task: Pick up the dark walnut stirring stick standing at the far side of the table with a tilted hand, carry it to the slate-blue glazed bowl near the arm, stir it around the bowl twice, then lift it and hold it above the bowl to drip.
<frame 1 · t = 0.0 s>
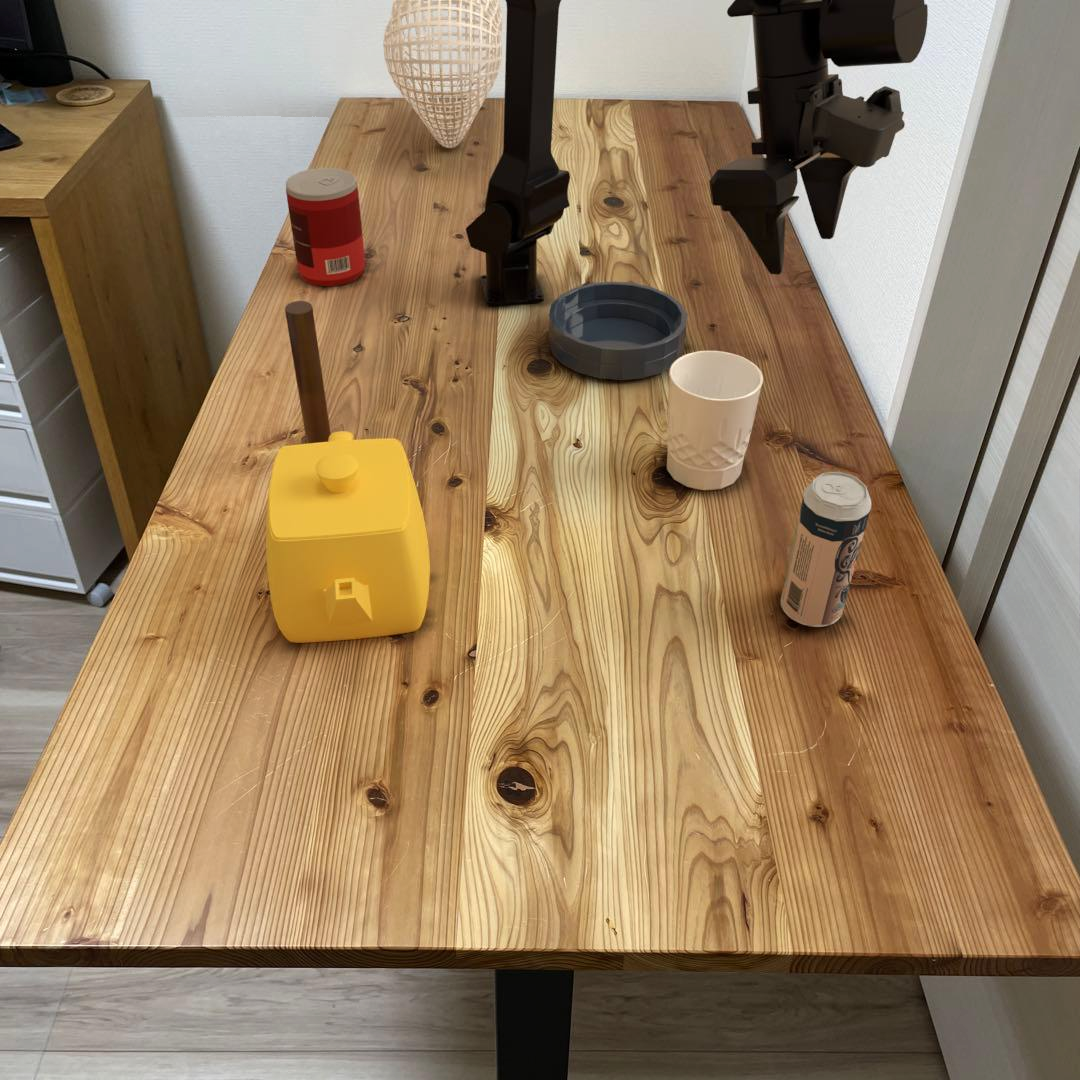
hand: (802, 255, 95), 15 cm above the table, tool pointing down, fingers open, 9 cm apart
stirring stick: (322, 465, 97), on the table
teapot: (353, 592, 85), on the table
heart: (450, 148, 156), on the table
bowl: (615, 347, 113), on the table
canned food: (332, 273, 126), on the table
beer can: (809, 611, 83), on the table
white cup: (702, 470, 97), on the table
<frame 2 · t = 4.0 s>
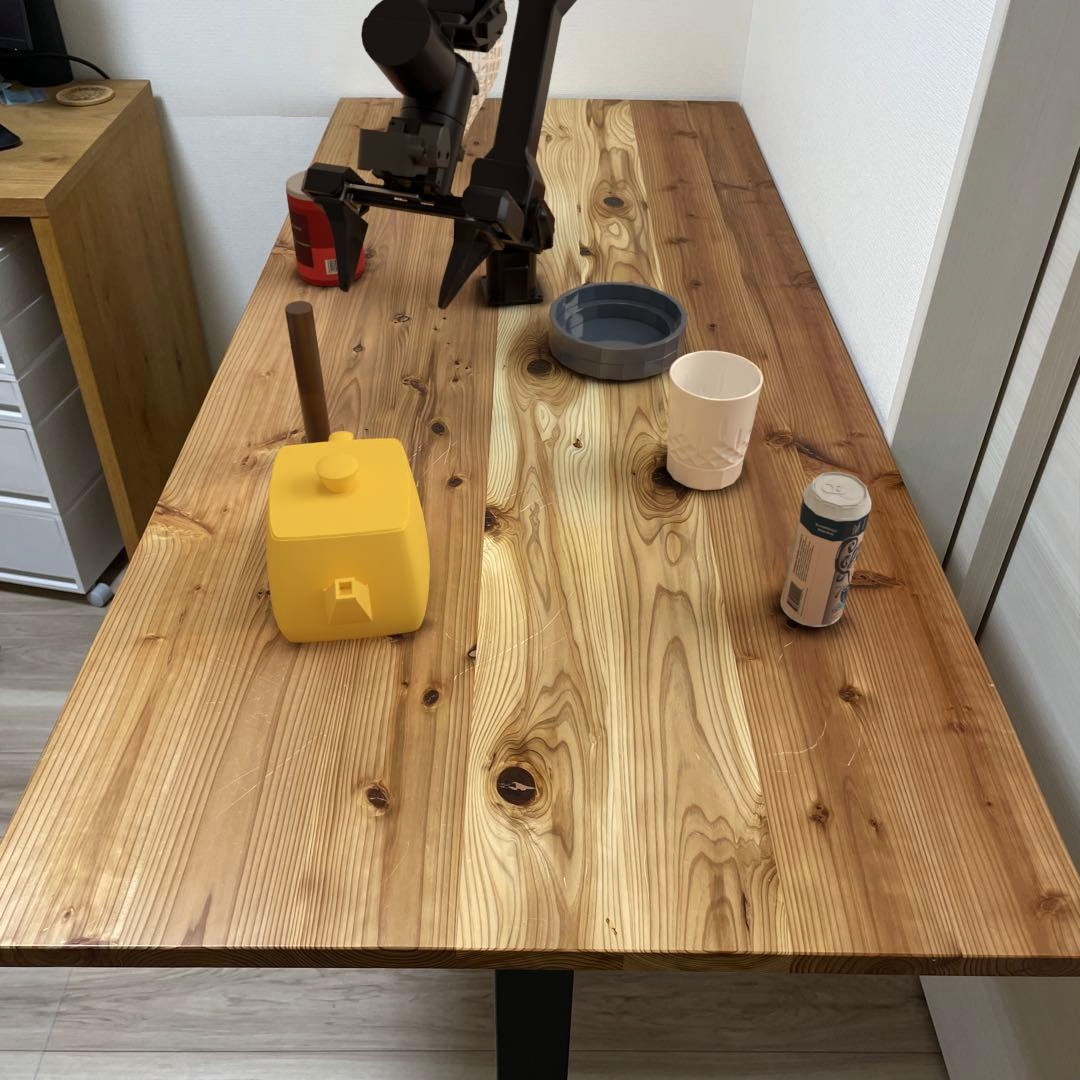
hand: (391, 299, 92), 14 cm above the table, tool tilted 40°, fingers open, 9 cm apart
nothing on the table moved.
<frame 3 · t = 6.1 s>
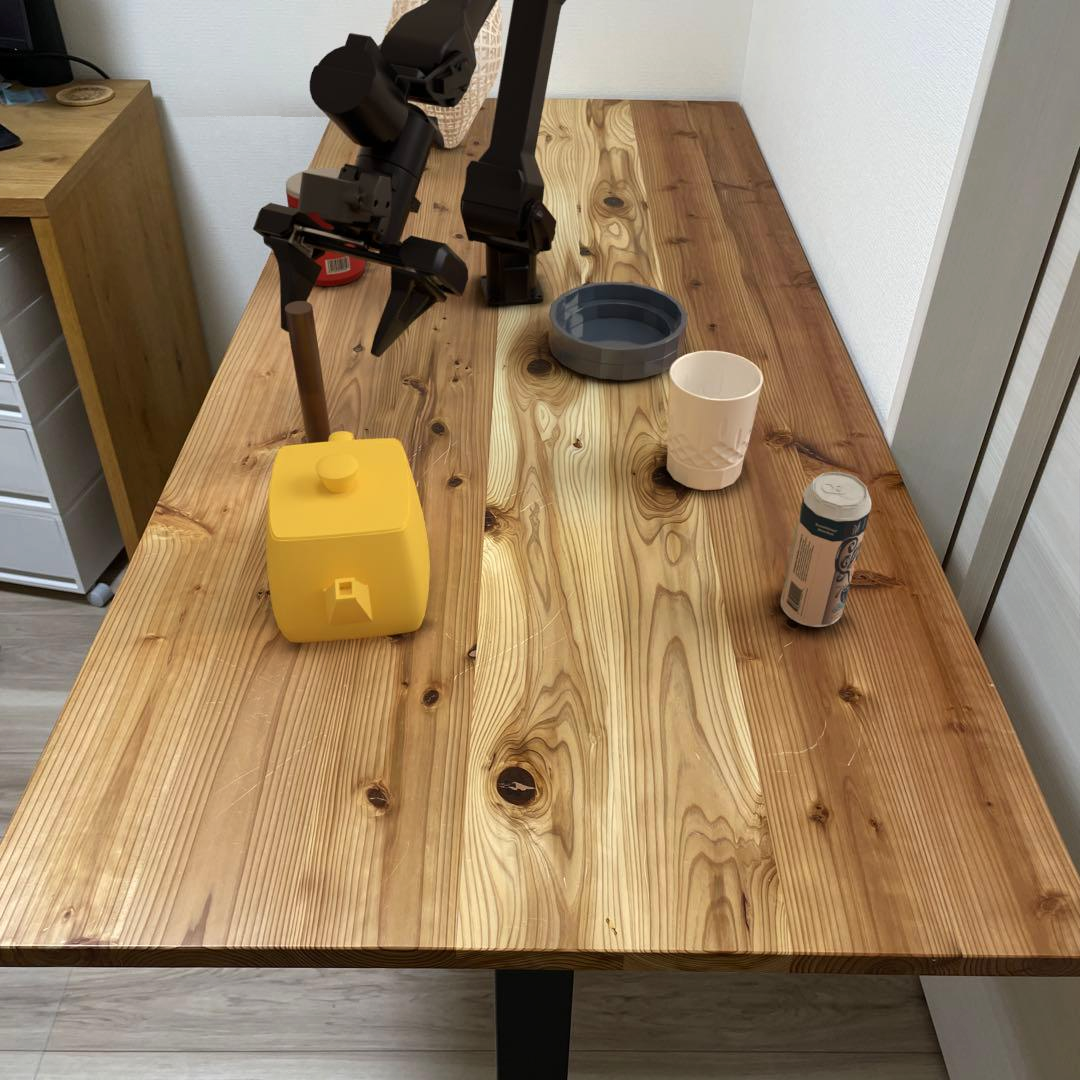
hand: (329, 342, 92), 11 cm above the table, tool tilted 45°, fingers open, 9 cm apart
nothing on the table moved.
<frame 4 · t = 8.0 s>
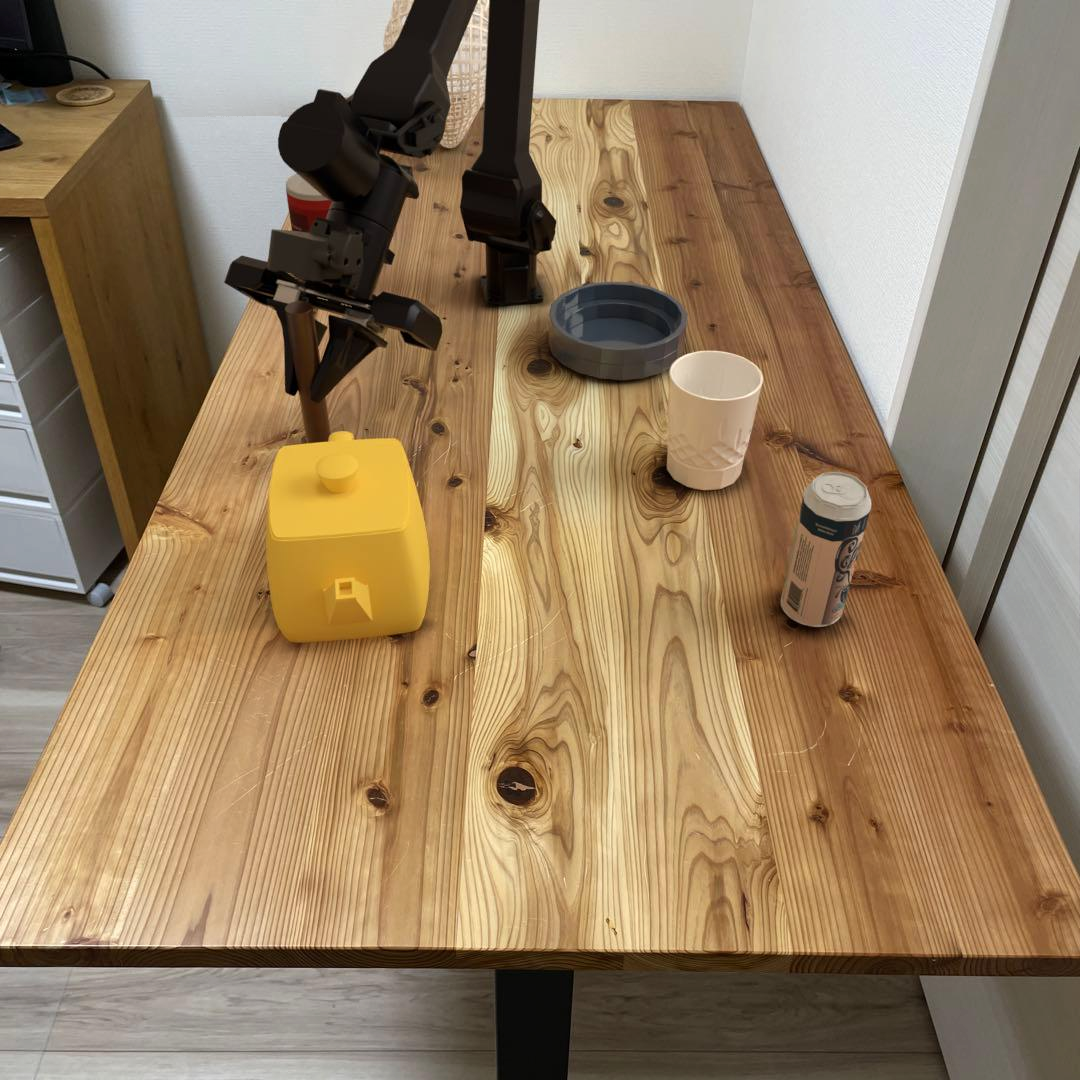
hand: (301, 398, 91), 8 cm above the table, tool tilted 45°, fingers closed on stirring stick, 2 cm apart
stirring stick: (322, 465, 97), on the table, touching gripper
everything else where it was.
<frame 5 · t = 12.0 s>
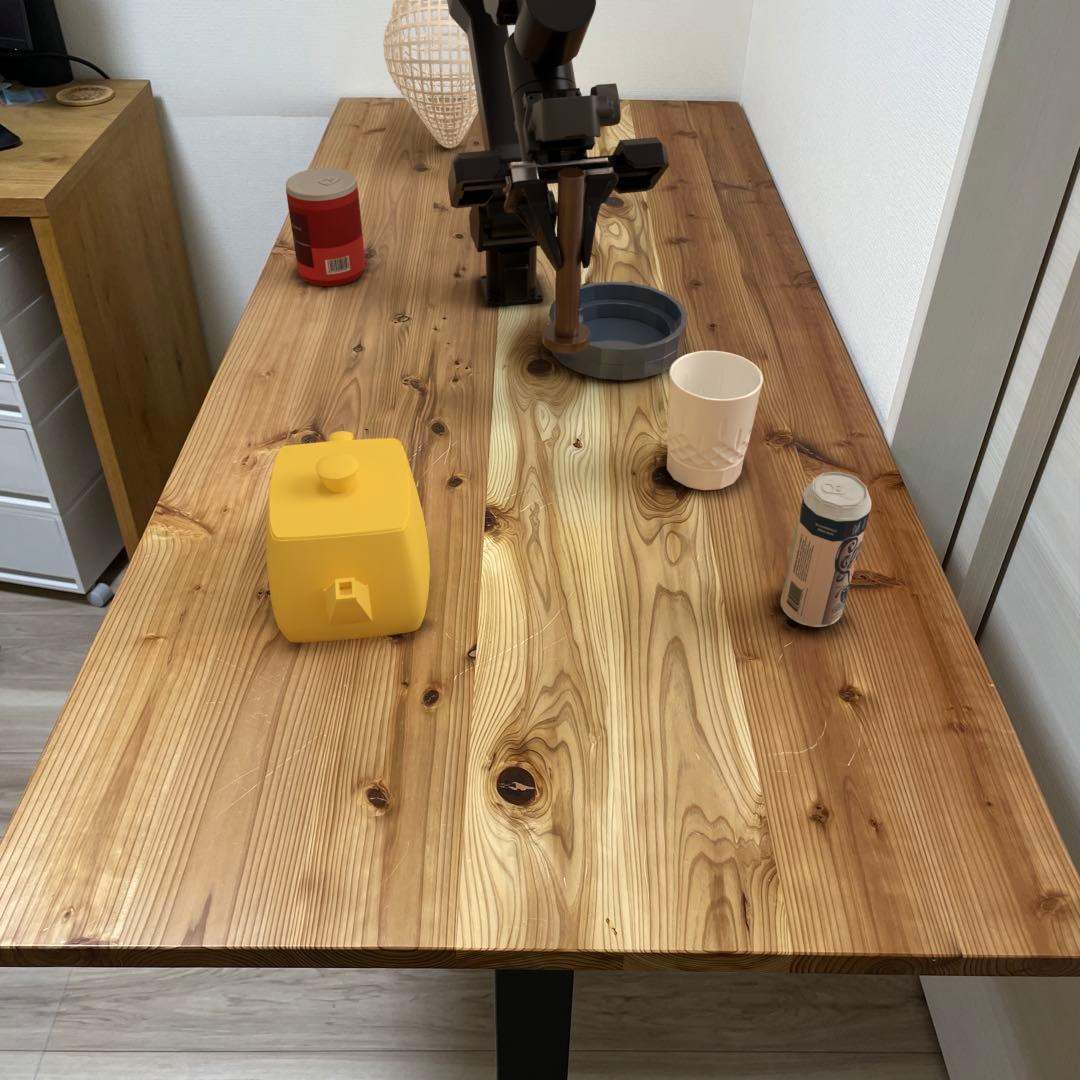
hand: (572, 268, 93), 16 cm above the table, tool tilted 45°, fingers closed on stirring stick, 2 cm apart
stirring stick: (566, 341, 99), point 8 cm above the table, touching gripper
everything else where it was.
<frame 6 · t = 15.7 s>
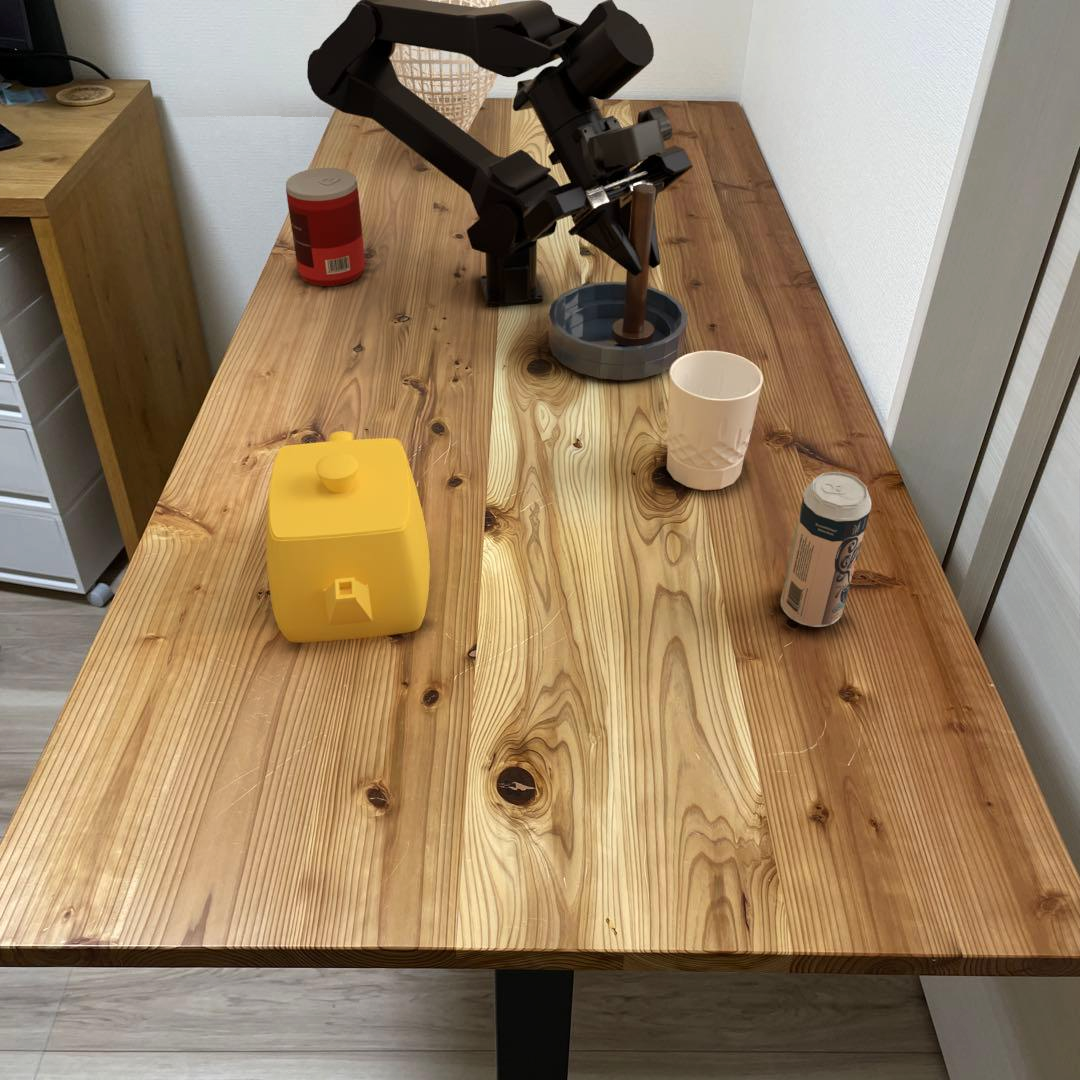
hand: (647, 270, 106), 9 cm above the table, tool tilted 45°, fingers closed on stirring stick, 2 cm apart
stirring stick: (632, 336, 112), point 1 cm above the table, touching gripper
everything else where it was.
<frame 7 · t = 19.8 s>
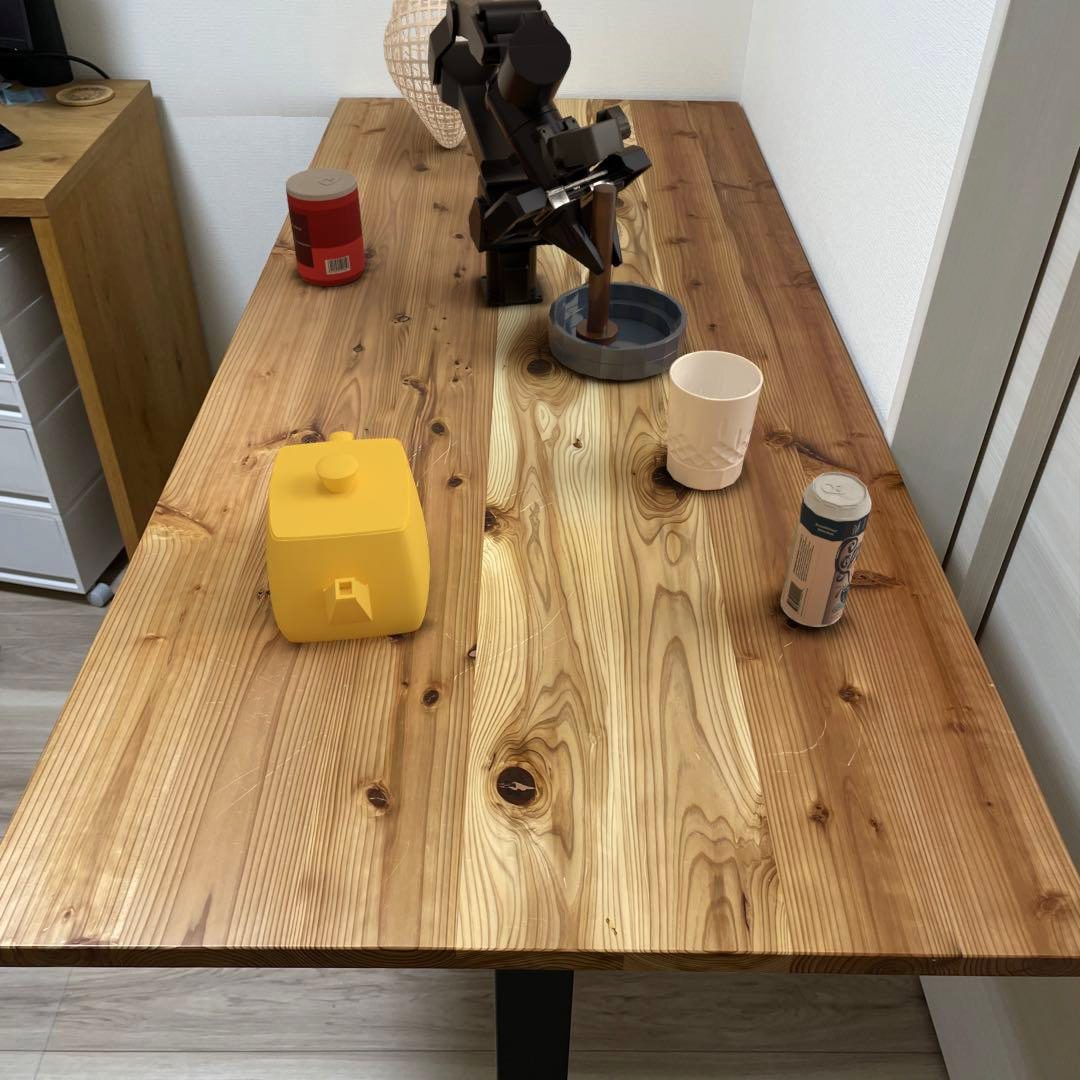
hand: (610, 269, 106), 10 cm above the table, tool tilted 45°, fingers closed on stirring stick, 2 cm apart
stirring stick: (596, 336, 112), point 1 cm above the table, touching gripper
everything else where it was.
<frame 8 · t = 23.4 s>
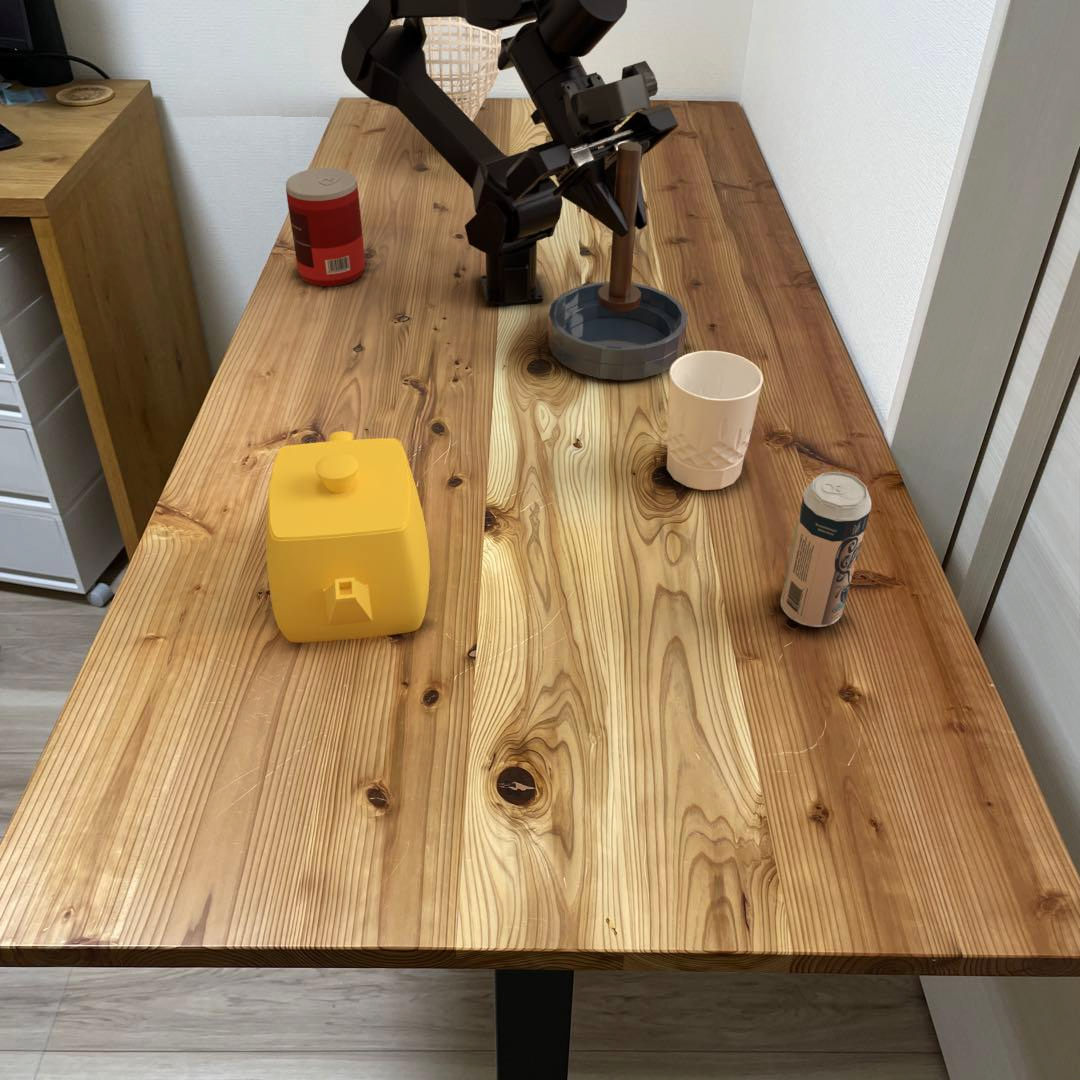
hand: (634, 231, 103), 14 cm above the table, tool tilted 45°, fingers closed on stirring stick, 2 cm apart
stirring stick: (618, 301, 110), point 5 cm above the table, touching gripper
everything else where it was.
at the end: the gripper is holding stirring stick; stirring stick inside the target area on the bowl (0.0 cm from its centre), point 5.4 cm above the bowl's base; stirring stick moved 35.3 cm from its start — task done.
